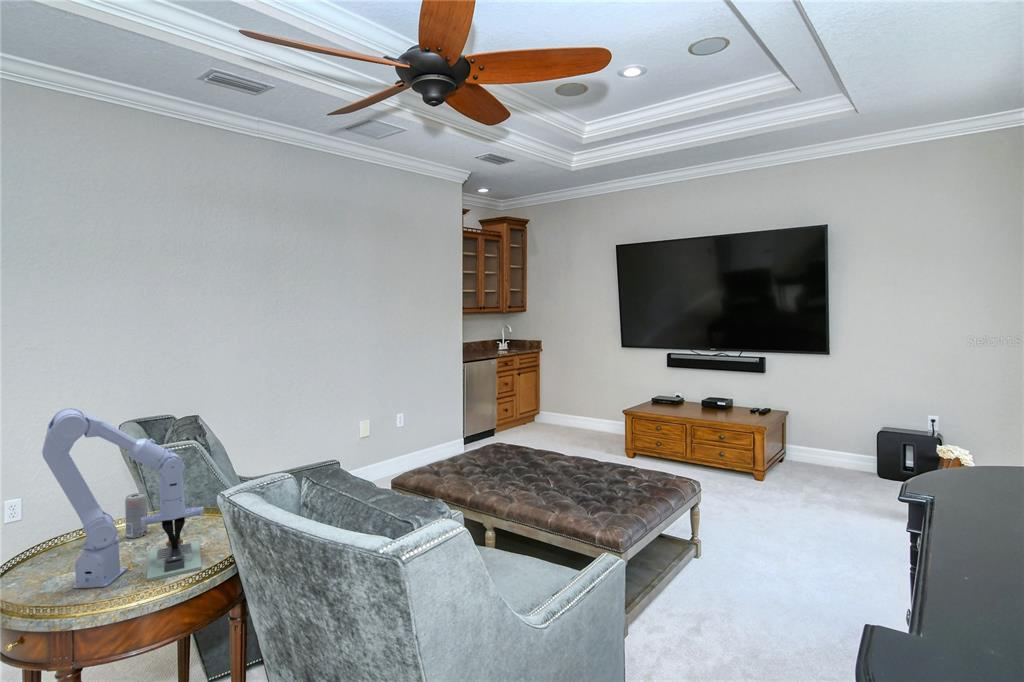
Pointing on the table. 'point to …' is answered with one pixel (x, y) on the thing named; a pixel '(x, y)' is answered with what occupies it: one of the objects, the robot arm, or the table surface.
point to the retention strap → (174, 551)
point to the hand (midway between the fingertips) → (174, 545)
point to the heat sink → (185, 553)
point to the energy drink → (135, 514)
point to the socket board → (188, 565)
